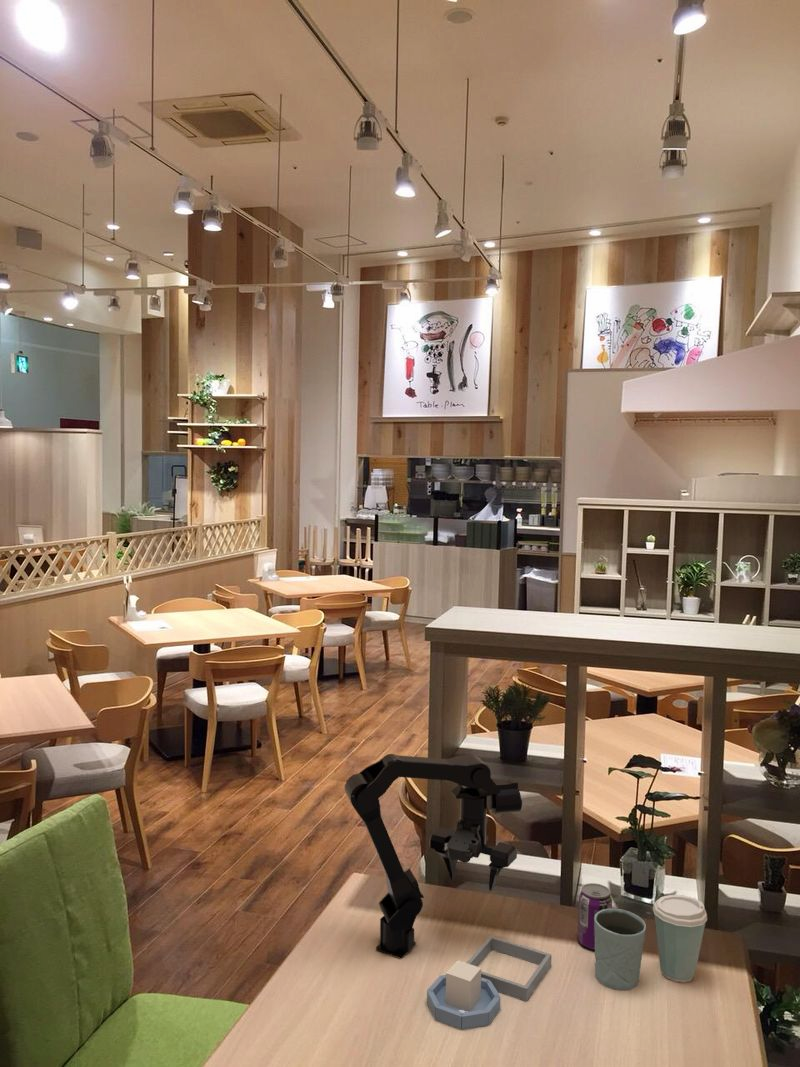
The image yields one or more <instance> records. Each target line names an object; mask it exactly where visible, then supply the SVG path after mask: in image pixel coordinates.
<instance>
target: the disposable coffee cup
mask: <svg viewBox="0 0 800 1067" xmlns="http://www.w3.org/2000/svg"><path fill="white" fill-rule="evenodd" d="M705 908H706V907H705V905H704V903H703V901H701V900H698V899H697V898H696V897H691V896H687V895H684V894H681V895H680V894H669V895H665V896H663V895H662V896H661V897H659V898H658V899H657V900H656V901H655V902H654V903H653V906H652V911H653V914H654V922H655V932H656V934H655V935H656V943H657V950H658V960H659V968H660V971H661V973H662V976H664V977H665V979H668V980H670V981H672V982H675V983H683V984H684V983H688V982H691V981H692V980H693V979H694V976H695V975H696V971H697V965H698V961H699V956H700V951H701V947H702V941H703V937H704V931H705V927H706V922H707V921H708V914H707V911H706V909H705Z"/></svg>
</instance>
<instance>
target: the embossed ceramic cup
mask: <svg viewBox="0 0 800 1067" xmlns="http://www.w3.org/2000/svg"><path fill="white" fill-rule="evenodd" d="M594 926H595V949H594V959H595V963H594V971H595V972H594V974H595V975H594V976H595V978H596V980H597V981H598V983H600V984H601V985H603V986H604V987H606V988H609V989H611V990H615V991H629V990H632V989H635V988H636V987H637V986H638V983H639V981H640V980H639V979H640V974H641V973H640V972H641V967H642V960H643V954H644V953H643V951H644V946H643V945H644V942H645V938H646V929H647V925H646V923H645V920H643V919H642V917H640V916H639V915H637V914H635V913H633V912H631V911H628V910H625V909H622V908H621V909H620V908H612V909H604V910H601V911H599V912H597V913H596V914H595V917H594Z"/></svg>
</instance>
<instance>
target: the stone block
mask: <svg viewBox="0 0 800 1067" xmlns="http://www.w3.org/2000/svg"><path fill="white" fill-rule="evenodd" d="M481 971H482V967H479V966H478V967H477V966H474V965H471V964H468V963H467V962H464V961H462V960H458V959H457V960H456V962H455V963H454V964H453V965H452V966H451V967H450V968H449V970H447V972H446V973H445V975H446V1004H448V1005H451V1006H454V1007H457V1008H460V1009H462V1010H465V1011H468V1012H470V1011H471V1010H472V1008H473V1007H474V1006H475V1005H476V1003H477V1002H478V1001H479V999H480V998H481Z"/></svg>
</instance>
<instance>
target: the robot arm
mask: <svg viewBox="0 0 800 1067" xmlns="http://www.w3.org/2000/svg"><path fill="white" fill-rule="evenodd" d="M491 776H492V773H491V769H490V767H489V766H488V764H486V763H485V762H484V761H483V760H482V759H481V758H479V757H478V755H475V754H463V755H455V756H453V757H450V758H436V757H435V758H434V757H425V756H423V757H422V756H413V755H412V756H411V755H398V754H395V753H388V754H386V755H384V756H383V757H382V758H380V759H379V760H378V761H376V762H374V763H371V764H369V765H368V766H366V767H364V768H363V770H361V771H360V772H358V773H355V774H353V775H351V776H350V777H348V778H347V780H346V782H345V784H344V792H345V794H346V796H347V798H348V800H349V801H350V804H351V806H352V807H353V809H354V810H355V811H356V813H357V814H358V816H359V817H360V819H361V820H362V822H363V823H364V825H365V828H366V830H367V833H368V835H369V838H370V840H371V843H372V845H373V847H374V850H375V852H376V854H377V856H378V859H379V861H380V863H381V866H382V868H383V870H384V873H385V879H386V886H387V890H388V893H386V895H384V897H383V898H382V899H381V900H380V901H379V902H378V905H379V906H378V907H379V908H380V911H381V913H382V914H383V915H382V917H381V918H380V920H379V921H380V922H379V923H380V924H379V925H380V927H379V944H378V945H376V947H375V950H376V951H378V952H381V953H384V954H387V955H390V956H393V957H395V958H399V959H403V958H404V957H406V955H407V954H408V953H409V952H410V951H411V950H412V949H413V948H414V947H415V946H416V944H417V942H416V941H415V927H414V923H415V921H416V919H417V916H418V915H419V913H420V912H421V911H422V909H423V905H424V904H423V899H424V898H425V896H424V894H423V892H422V890H421V889H420V887H419V883H418V880H417V878H416V877H415V875H414V873H413V871H412V870H411V868H408V869H407V870H405V871H404V868H403V866H402V863H401V861H400V859H399V856H398V855H397V852H396V849H395V846H394V845H393V842H392V840H391V836H390V835H389V833H388V829H387V828H386V825H385V823H384V820H383V818H382V810H381V804H380V798H381V797H382V796H383V795H385V793H386V792H388V789H389V788H390V787H391V786H392V784H393V783H394V782H395V781H396V780H397V779H398V778H408V779H421V780H422V779H423V780H434V781H435V780H436V781H448V782H451V783H454V784H457V786H455V787H453V789H452V790H451V791H450V793H451V794H452V795H453V797H454V798H455V799H456V800H460V801H459V802H460V803H459V804H460V805H459V806H460V807H459V810H460V811H459V820H458V821H456V822H457V823H456V830H453V829H448V828H444V827H440V828H439V829H437V830H436V831H435V832H434V833H432V834H431V835H430V836H429V840H428V841H429V842H428V844H429V846H428V847H429V848H430V849H433V850H434V852H435V853H437V854H439V855H440V856H441V858H442V859H443V861H444V864H445V866H446V870H447V873H448V875H449V878H450V880H451V881H453V880H455V879H456V872H457V861H459V862H461V863H463V864H467V863H469V862H471V859H473V858H476V859H477V858H479V857H480V855H481V854H482V855H487V856H489V862H490V863H489V864H488V867H489V880H488V890H489V891H490V892H492V891H493V889H494V887H495V885H496V883H497V880H498V877H499V876H500V873H501V871H502V869H503V870H504V868H508V867H509V866H510V865H511V864H512V863H514V862H515V861H516V859H517V856H518V850H517V848H516V846H515V845H514V844H511V843H506V842H501V841H499V842H498V843H497V844H496V845H494V846H493V845H489V844H487V842H488V841H489V835H487V824H488V823H489V820H490V818H489V817H488V816H487V810H489V811H490V810H491V813H493V814H494V815H495V814H496V815H497V814H499V815H500V814H509V813H510V814H511V813H519V812H520V811H521V810H522V807H523V799H522V795H521V792H520V790H519V782H517V781H516V780H515V779H509V780H508V779H507V780H506V781H505V780H503V781H494V780H493V778H492V777H491Z"/></svg>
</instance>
